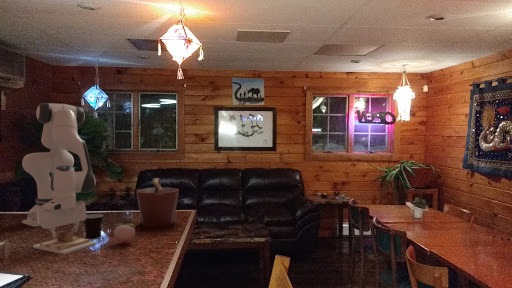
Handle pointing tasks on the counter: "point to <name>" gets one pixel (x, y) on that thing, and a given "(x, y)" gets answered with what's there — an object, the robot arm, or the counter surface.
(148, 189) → the bucket
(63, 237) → the birch lid
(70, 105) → the robot arm
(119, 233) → the decorative fruit
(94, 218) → the coffee mug
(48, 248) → the rubber mat
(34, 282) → the counter surface
